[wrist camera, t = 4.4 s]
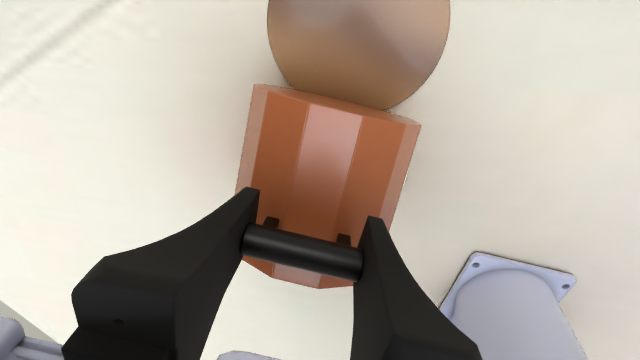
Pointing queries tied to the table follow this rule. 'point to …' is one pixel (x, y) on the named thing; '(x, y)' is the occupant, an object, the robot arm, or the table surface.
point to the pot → (319, 182)
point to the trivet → (358, 46)
